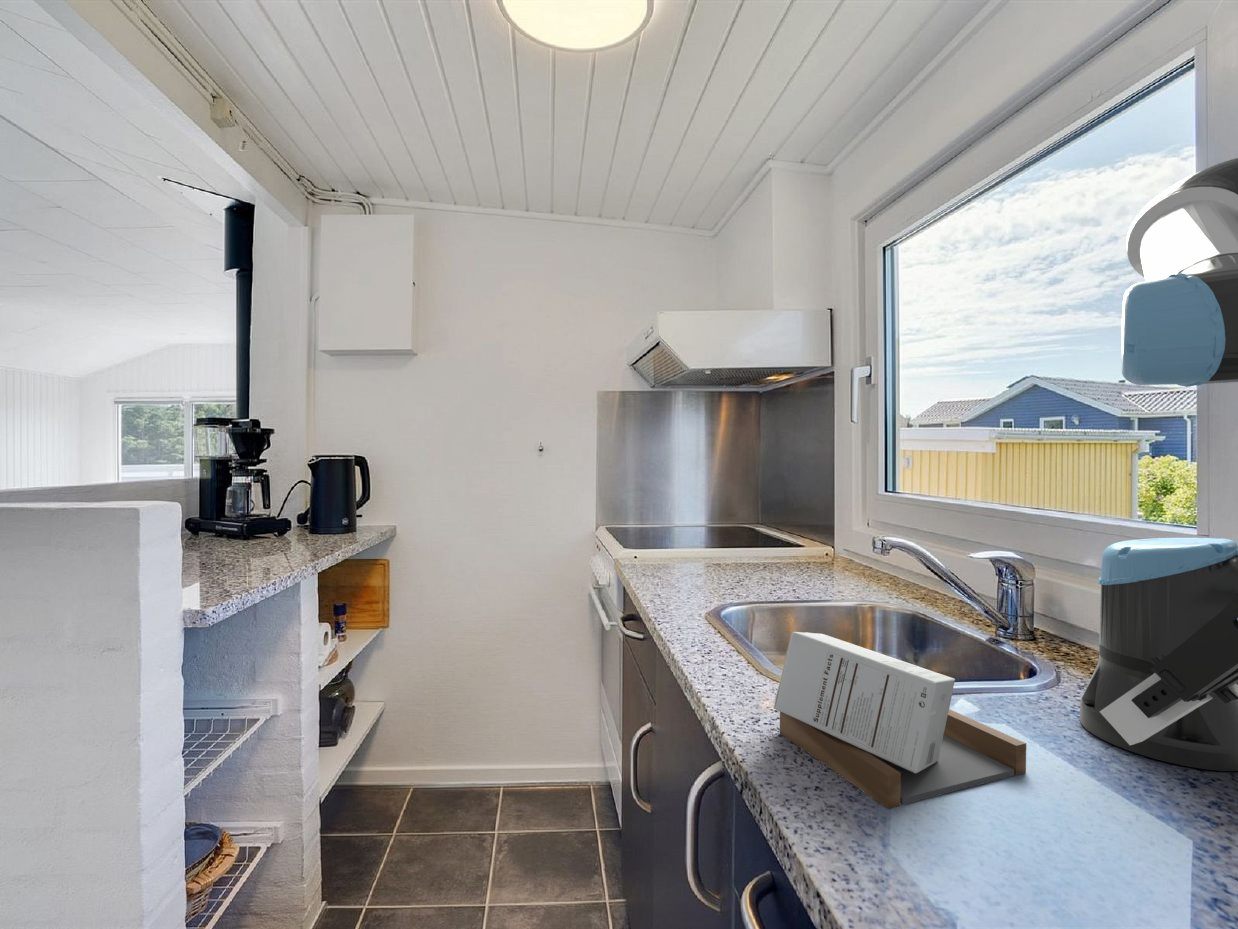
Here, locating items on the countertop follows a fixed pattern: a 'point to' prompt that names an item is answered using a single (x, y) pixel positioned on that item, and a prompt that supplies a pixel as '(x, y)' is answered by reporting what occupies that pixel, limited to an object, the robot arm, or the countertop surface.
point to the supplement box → (866, 699)
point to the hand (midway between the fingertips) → (1120, 726)
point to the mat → (949, 772)
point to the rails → (882, 777)
